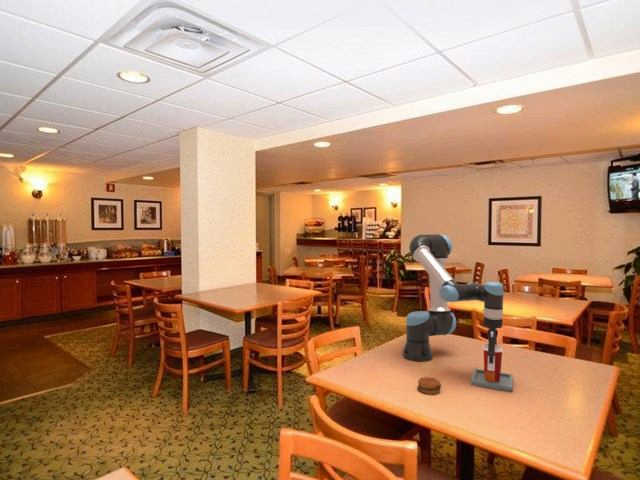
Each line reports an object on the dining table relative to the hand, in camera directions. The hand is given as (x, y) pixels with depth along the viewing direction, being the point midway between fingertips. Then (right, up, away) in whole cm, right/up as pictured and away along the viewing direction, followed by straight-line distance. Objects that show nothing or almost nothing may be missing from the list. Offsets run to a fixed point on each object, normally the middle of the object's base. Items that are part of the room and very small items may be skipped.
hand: (491, 365), depth 168 cm
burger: (-30, -8, -8) cm, 32 cm away
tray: (0, -7, 0) cm, 7 cm away
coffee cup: (0, -7, 0) cm, 7 cm away
